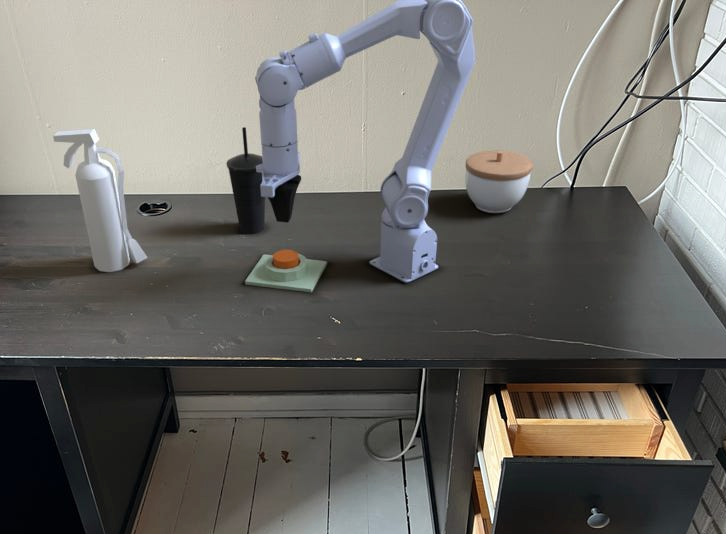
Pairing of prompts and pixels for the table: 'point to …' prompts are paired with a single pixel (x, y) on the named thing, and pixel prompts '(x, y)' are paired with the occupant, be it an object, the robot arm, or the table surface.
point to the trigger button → (285, 259)
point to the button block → (287, 274)
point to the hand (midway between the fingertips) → (283, 220)
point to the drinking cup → (247, 189)
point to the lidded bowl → (497, 179)
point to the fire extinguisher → (101, 202)
